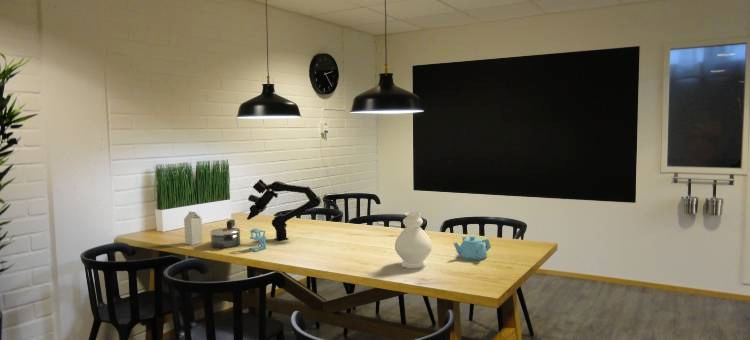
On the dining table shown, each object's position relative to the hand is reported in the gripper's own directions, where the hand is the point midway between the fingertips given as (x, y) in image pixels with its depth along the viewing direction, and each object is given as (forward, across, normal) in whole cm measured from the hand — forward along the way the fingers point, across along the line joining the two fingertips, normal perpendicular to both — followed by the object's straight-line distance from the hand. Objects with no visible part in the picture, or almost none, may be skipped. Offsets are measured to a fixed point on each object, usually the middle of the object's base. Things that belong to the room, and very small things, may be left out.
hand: (249, 218), depth 317 cm
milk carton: (+32, +6, -15) cm, 35 cm away
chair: (+3, +25, +17) cm, 30 cm away
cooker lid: (+12, +9, -4) cm, 16 cm away
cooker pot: (+18, +11, 0) cm, 21 cm away
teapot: (-73, +50, +102) cm, 135 cm away
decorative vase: (-54, +62, +80) cm, 114 cm away
